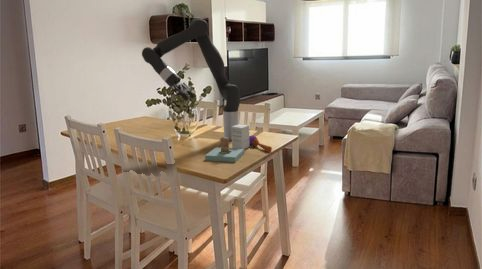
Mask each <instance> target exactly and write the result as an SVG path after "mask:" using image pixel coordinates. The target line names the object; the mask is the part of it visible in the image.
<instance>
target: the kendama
mask: <svg viewBox="0 0 482 269" xmlns="http://www.w3.org/2000/svg"><path fill="white" fill-rule="evenodd" d="M249 141H250V146H251V147H257V146H259V147H260V148H262V149H263V150H264V151H266V152H267V153H271V152H272V149H273V148H272V146H270V145H265V144H264V143H263V144H262V143H260V141H259V139H258V137H257V136H256V135H249Z"/></svg>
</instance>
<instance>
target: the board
mask: <svg viewBox="0 0 482 269" xmlns="http://www.w3.org/2000/svg"><path fill="white" fill-rule="evenodd" d="M243 155H245V149H236V148H232V147H229V153H228V154H222V153H221V147H214V148H213V149H211V150H210V151H209V152H208V153H207V154H205V155H204V160H205V161H211V162H212V161H213V162H228V163H237V162H238V160H240V159H241V157H243Z"/></svg>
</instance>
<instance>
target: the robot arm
mask: <svg viewBox="0 0 482 269" xmlns="http://www.w3.org/2000/svg"><path fill="white" fill-rule="evenodd" d="M208 32H209V24H208V22H207V21H206V20H204V19H202V18H193V19H192V20H191V21H190V23H189V26H188V27H187V28H186V29H184V30H181V31H179V32H177V33H176V34H172V35H171V36H168V37H165V38H164V39H163V40H160V41H159V42H157V43H156V45H155V46H154V47H153V48H152V47H150V46H146V47H144V48H143V49H142V51H141V56H142V58H143V60H144V62H146V63H147V64H150V65H149V66H151V67H152V68H153V71H155V72H156V74H158V76H160V78H161V79H162V80H163V81H164V83H165V84H166V85H167V86H168V87H169V88H170V89H171V90H172V91H173V93H175V94H176V96H180V97H181V98H182V99H184V101H186V102H187V101H188V100H189V98H191V99H192V100H193V99H194V98H195V97H196V95H195V93H193V92H192V88H191V87H189V85H188V84H187V83H186V82H185V81H183V82H181V79H182V78H181V77H180V76H179V75H178V74H177V73H176V71H174V70H173V68H171V67H170V66H169V65H168V64H167V63H166V62H165V61H164V60H163V59H162V57H163V56H164V55H166V54H168V53H169V52H171V51H173V50H175V49H177V48H179V47H180V46H182V45H184V44H186V43H188V42H189V41H192V40H194V39H195V40H196V42H197V44H198V46H199V48H200V51H201V54H202V56H203V58H204V60H205V63H206V64H207V66H208V68H209V70H210V72H211V75H212V76H213V79H214V80H215V84H216V86H217V89H218V91H219V95H220V96H221V97H222V98H223V99H224V100H226V101H225V103H226V104H225V105H224V106H223V107H222V112H223V113H222V118H223V137H228V139H229V141H232V126H235V125H238V124H240V121H239V120H240V119H239V108H240V98H241V96H240V95H241V94H240V88H239V87H238V85H236V84H230V82H229V80H228V78H227V76H226V72H225V71H226V70H225V63H224V60H223V57H222V55H221V53H220V52H219V50H218V48H217V47H216V46H215V44H214V43H213V42H212V40H211V38H210V36H209V34H208ZM187 95H188V96H189V97H188V96H187Z"/></svg>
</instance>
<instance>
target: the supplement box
mask: <svg viewBox="0 0 482 269" xmlns="http://www.w3.org/2000/svg"><path fill="white" fill-rule="evenodd" d="M249 136H250V125H247V124H241V123H239V124H238V125H235V126H232V140H231V148H236V149H244V150H245V149H248V148H250V141H249Z"/></svg>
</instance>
